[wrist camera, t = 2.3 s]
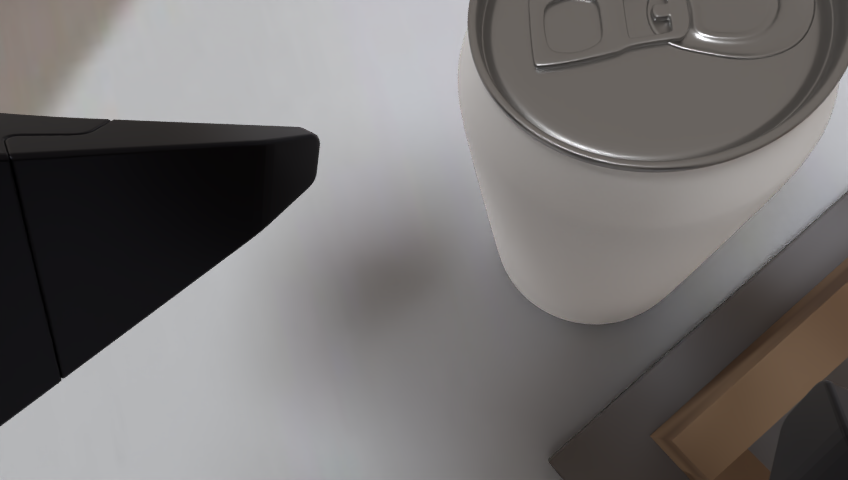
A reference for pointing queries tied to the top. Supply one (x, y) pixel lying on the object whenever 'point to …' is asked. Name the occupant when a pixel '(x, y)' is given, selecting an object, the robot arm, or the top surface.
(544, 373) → the top surface
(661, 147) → the can
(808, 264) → the socket holder
